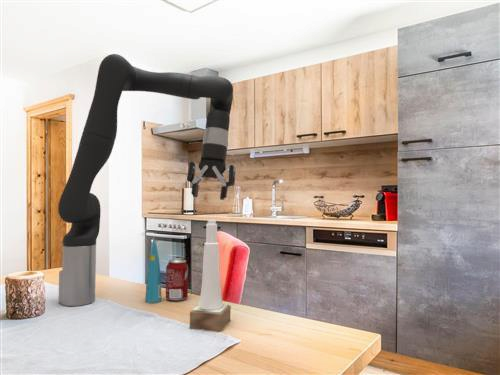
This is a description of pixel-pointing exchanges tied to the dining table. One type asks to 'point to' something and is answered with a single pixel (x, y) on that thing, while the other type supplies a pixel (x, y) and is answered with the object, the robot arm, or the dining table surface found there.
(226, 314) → the pedestal
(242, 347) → the dining table surface
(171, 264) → the soda can
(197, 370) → the dining table surface
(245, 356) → the dining table surface
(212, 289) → the cosmetic bottle
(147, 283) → the tube
